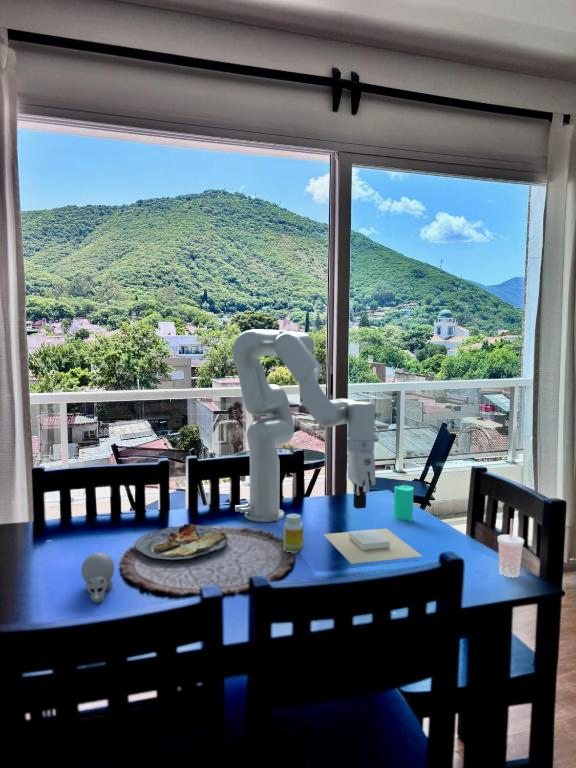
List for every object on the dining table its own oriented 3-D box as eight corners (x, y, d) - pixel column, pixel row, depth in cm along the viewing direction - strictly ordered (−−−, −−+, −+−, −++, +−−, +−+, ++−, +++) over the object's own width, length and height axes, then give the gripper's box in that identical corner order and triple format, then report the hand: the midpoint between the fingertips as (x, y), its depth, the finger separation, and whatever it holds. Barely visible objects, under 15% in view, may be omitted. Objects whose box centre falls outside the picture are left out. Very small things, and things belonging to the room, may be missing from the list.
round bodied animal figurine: (79, 615, 126) (76, 587, 122) (84, 574, 136) (81, 547, 132) (114, 611, 127) (111, 583, 123) (116, 571, 138) (114, 544, 134)
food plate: (194, 525, 176) (194, 514, 176) (244, 547, 160) (244, 534, 159) (120, 548, 159) (119, 536, 158) (167, 575, 142) (166, 561, 142)
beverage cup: (508, 580, 139) (511, 524, 138) (490, 571, 144) (492, 516, 143) (528, 576, 141) (530, 521, 140) (509, 567, 147) (511, 513, 146)
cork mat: (351, 567, 146) (351, 563, 146) (323, 537, 167) (323, 534, 167) (422, 559, 151) (422, 556, 151) (386, 531, 172) (386, 528, 172)
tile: (348, 538, 164) (362, 551, 154) (348, 531, 164) (362, 544, 154) (374, 536, 166) (390, 548, 156) (374, 529, 166) (390, 541, 156)
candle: (411, 517, 186) (412, 480, 185) (413, 523, 180) (414, 485, 179) (392, 516, 187) (393, 480, 186) (394, 522, 181) (395, 485, 180)
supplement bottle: (280, 548, 159) (280, 514, 158) (297, 545, 161) (297, 511, 160) (288, 555, 154) (288, 520, 153) (306, 551, 156) (306, 517, 155)
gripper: (384, 449, 158) (382, 514, 160) (362, 439, 173) (361, 499, 174) (358, 450, 156) (357, 516, 158) (339, 440, 171) (338, 501, 172)
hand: (359, 507), depth 166 cm, fingers closed
